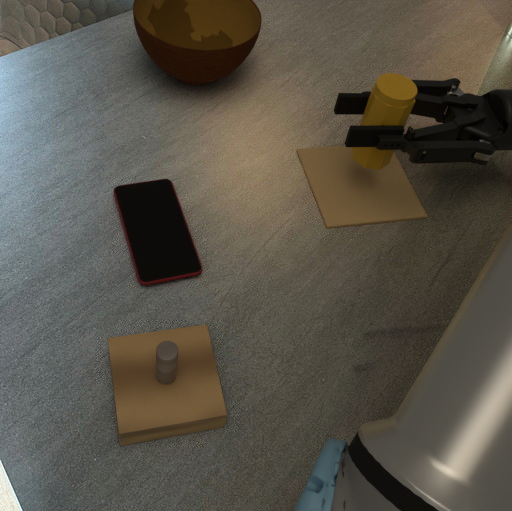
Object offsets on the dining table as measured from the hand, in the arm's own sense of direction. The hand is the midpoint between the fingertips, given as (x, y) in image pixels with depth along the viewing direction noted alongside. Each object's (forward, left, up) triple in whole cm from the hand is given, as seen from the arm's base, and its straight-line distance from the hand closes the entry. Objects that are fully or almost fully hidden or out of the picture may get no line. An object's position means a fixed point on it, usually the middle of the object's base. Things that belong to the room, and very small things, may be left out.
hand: (342, 119), depth 75 cm
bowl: (+25, +13, -11) cm, 30 cm away
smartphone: (-5, +23, -11) cm, 26 cm away
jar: (0, -5, -6) cm, 8 cm away
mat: (0, -5, -11) cm, 12 cm away
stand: (-25, +25, -11) cm, 37 cm away
